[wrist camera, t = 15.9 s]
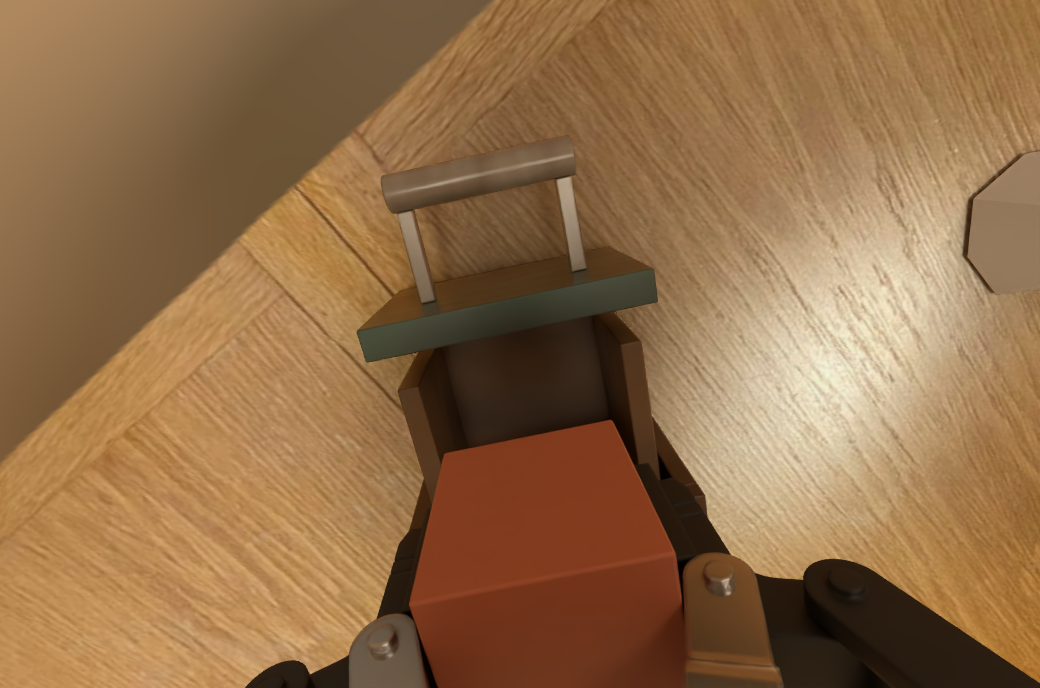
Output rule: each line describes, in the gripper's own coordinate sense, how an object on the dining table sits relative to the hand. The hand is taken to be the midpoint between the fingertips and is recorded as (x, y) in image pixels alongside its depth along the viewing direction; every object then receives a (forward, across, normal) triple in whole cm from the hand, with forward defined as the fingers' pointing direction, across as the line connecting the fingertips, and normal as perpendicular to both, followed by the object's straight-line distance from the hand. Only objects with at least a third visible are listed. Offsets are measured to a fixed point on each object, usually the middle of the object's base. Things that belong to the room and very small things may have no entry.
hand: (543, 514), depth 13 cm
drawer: (+13, 0, -1) cm, 13 cm away
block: (0, 0, 0) cm, 0 cm away
